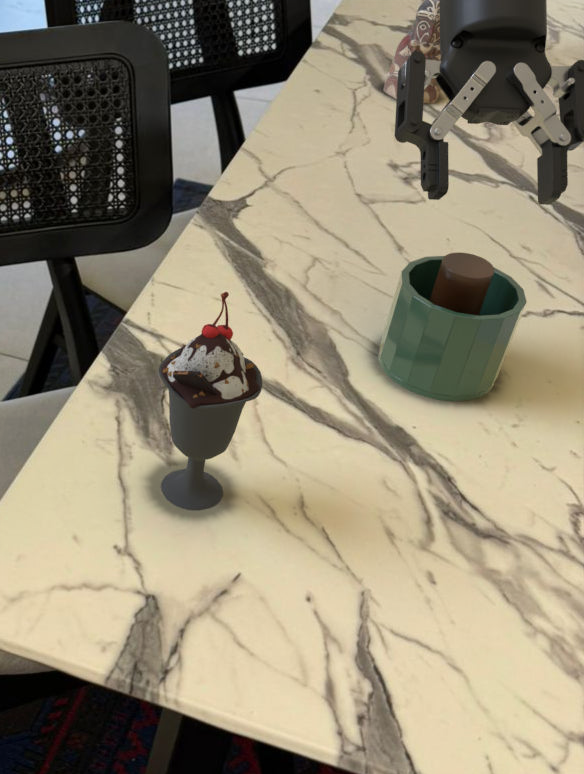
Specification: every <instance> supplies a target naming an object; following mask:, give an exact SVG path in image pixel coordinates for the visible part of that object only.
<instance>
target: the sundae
mask: <svg viewBox="0 0 584 774" xmlns="http://www.w3.org/2000/svg"><path fill="white" fill-rule="evenodd" d="M229 296H230V295H229V292H228V291H224V292H223V293H221V294H220V297H221V310H220V312H219V315H217V317H216V319H215V320H214V321H213V323H207V324H204V325H203V327H202V328H201V331H200V332H201V333H200V334H199V335H197V336H195V337H194V338H192V339H190V341H188V342H187V343H186V344H184V345H182V346H181V347H179V348H178V349H176V350H174V351H173V352H171V353H169V354H168V355H167V356H166V357H165V358H164V359H163V361H161V363H159V367H158V376H159V378H160V380H161V381H162V383H163V384H164V386H165V387H166V388H167V390H168V399H169V400H168V405H169V407H168V416H169V420H168V421H169V431H170V436H171V442H172V443H173V445H174V446H175V447H176V449H177V450H178V451H179V452H180V453H181V454H182V455H184V456H185V457H187V463H186V468H181V469H177V470H173V471H171V472H169V473H168V474H165V476H164V477H163V478H162V480H161V482H160V490H161V493H162V495H163V496H164V498H165V499H166V501H168V502H169V503H170V504H172V505H173V506H175V507H177V508H180V509H182V510H187V511H193V512H194V511H195V512H196V511H203V510H208V509H209V510H210V509H211V508H214V507H216V506H217V505H218V504H220V502H221V501H222V500H223V497H224V490H223V489H224V488H223V486H222V485H221V483H220V482H219V480H218V479H217V478H216V477H215V476H213V475H212V474H210V473H209V472H207V471H205V464H206V461H207V460H210V459H211V460H212V459H213V458H215V457H218V456H220V455H222V454H224V453H225V452H226V451H227V449H228V448H229V445H230V443H231V441H232V439H233V437H234V435H235V432H236V429H237V427H238V423H239V422H240V418H241V415H242V412H243V409H244V408H245V405H246V404H247V402H250V401H253V400H255V399H257V398H258V397H260V394H261V392H262V389H263V377H262V372H261V370H260V369H259V367H258V366H257V365H256V364H255V363H254V362H253V361H252V360H251V359H249V358H247V357H245V356H244V353H243V352H242V349H241V348H240V347H239V346H238V344H237V343H235V342H234V341H233V340H231V339H232V338H233V336H234V332H233V329H232V327H230V326H229V310H228V305H227V302H226V300H227V298H228V297H229ZM224 309H225V310H224ZM223 312H225V313H224V314H225V322H224V323H225V324H219V325H217V323H218V322H219V320H220V318H221V317H222V315H223ZM216 325H217V326H216Z"/></svg>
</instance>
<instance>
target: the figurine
mask: <svg viewBox="0 0 584 774" xmlns="http://www.w3.org/2000/svg"><path fill="white" fill-rule="evenodd" d="M415 51H420V52H422V53H423V54H424V55H425V58H426V59H428V60H437V61H440V59H441V52H440V0H424V1H423V2H422V3H421V4H420V5H419V7H418V9H417V11H416V15H415V21H414V26H413V30H412V31H410V32H408V33H407V34H406V35H405V36H403V38H402V39H401V40H400V41H399V43H398V45H397V47H396V50H395V52H394V56H393V59H392V62H391V65H390V67H389V70H388V72H387V75H386V77H385V81H384V85H383V92H384V93H385V94H387V95H388V96H390V97H392V98H394V99H396V100H397V84H398V71H399V69H400V68H401V67H402V65H403V64H404V63H405V62H406V60H407V59H408V58H409V56H410V55H411V54H412V53H413V52H415ZM441 91H442V90H441V88H440V87H439V86H438V84H437V82H436V80H435V78H432V80H431V83H430V84H429V85H428V86H427V87H426V88H425V89H424V101H423V104H433V103H435V102H437V101H438V99H439V96H440V93H441Z"/></svg>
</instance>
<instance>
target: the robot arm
mask: <svg viewBox="0 0 584 774" xmlns="http://www.w3.org/2000/svg"><path fill="white" fill-rule="evenodd" d="M547 7H548V6H547V0H440V52H441V59H440V61H437V60H428V59H426V58H425V55H424V54H423V53H422V52H420V51H415V52H413V53H412V54H411V55H410V56H409V58H408V59H407V60H406V62H405V63H404V64H403V65H402V67H401V68H400V69H399V71H398V84H397V99H396V102H395V103H396V105H395V122H394V138H395V140H396V141H397V142H398V143H401V144H404V143H410V144H412V145H414V146H415V147H417V148H418V150H419V152H420V187H421V189H422V191H423V192H425V193H426V192H427V198H428V200H432V201H439V200H441V199H442V198H443V197H444V196H446V195H447V194H448V191H449V188H450V187H449V186H450V185H449V184H450V183H449V178H450V177H449V176H450V175H449V174H450V173H449V141H444V139H445V138H446V136H447V135H448V134H449V132H450V131H451V130H452V128H453V127H454V126H455V124H456V123H457V122H458V120H459V119H460V118H462V119H464V120H465V121H467V124H469V125H470V124H473V125H474V124H475V125H478V124H483V123H491V124H493V125H497V126H508V125H510V124H511V123H512V124H513V126H514V127H515V129H516V130H517V131H518V132H519V134H520V135H521V136H523V137H526V138H528V139H529V141H530V142H531V143H532V144H533V146H534V147H535V148H536V150H537V151H538V153H539V154H540V156H538V157H537V158H536V164H537V165H536V166H537V167H536V171H537V202H538V205H543V206H544V205H545V206H550V205H551V204H553V203H554V202H556V201H557V200H559V199H560V197H561V196H562V194H563V193H564V192H566V190H567V187H568V185H569V179H568V175H569V174H568V173H569V172H568V151H570V152H571V151H574V150H576V149H577V148H579V146H580V145H581V144H583V143H584V59H579V60H576V61H575V62H574V63H573V64H572V65H558V66H557V65H554V66H552V65H551V63H550V61H549V60H548V57H547V55H546V54H547V53H546V46H547V45H546V44H547V39H548V38H547V37H548V16H547V15H548V13H547V12H548V11H547V10H548V9H547ZM432 78H435V80H436V82H437V84H438V86H439V87H440V88H441V90H440V91H442V93H443V94H444V96H445V97H446V98H447V100H448V102H447V103H446V104H445V105H444V107H442V109H441V110H440V112H439V113H438V114H437V115H436V117H435V118H434V120H433V121H432V122H431V123H429V122H427V121H425V120H424V119H423V117H424V103H423V101H424V89H425V88H426V87H427V86H428V85H429V84H430V83H431V80H432ZM547 85H549V87H551V89H552V96H553V97H554V98H556V99H557V98H558V110H559V116H558V115H557V113H558V112H557V111H558V110H557V107H556V104H554V102H553V101H552V100H551V98H550V97H549V96H548V94H547V93H546V91H545V90H544V89H545V88H546V86H547ZM530 108H531V109H532V110H533V113H534V114H533V116H532V114H530V113H529V110H530Z"/></svg>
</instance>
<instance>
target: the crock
mask: <svg viewBox="0 0 584 774" xmlns="http://www.w3.org/2000/svg"><path fill="white" fill-rule="evenodd" d="M444 256H445V255H433V256H424V257H421V258H418V259H415V260H412V261H409V262H408V264H407V265H406V266H405V267H404V268H403V269H402V270H401V271H400V275H399V279H398V281H397V285H396V289H395V291H394V295H393V299H392V302H391V305H390V306H391V307H390V309H389V313H388V316H387V319H386V323H385V327H384V330H383V333H382V337H381V341H380V344H379V350H378V351H379V352H378V356H377V357H378V363H379V366H380V368H381V370H382V371H383V372H384V373H385V375H386V376H387V377H388V378H389V379H390V380H392V381H393V382H394V383H396V384H397V385H399V386H400V387H401V388H403V389H406V390H407V391H409V392H412V393H413V394H417V395H419V396H421V397H425V398H429V399H432V400H437V401H438V400H439V401H443V402H444V401H445V402H466V401H467V402H468V401H472V400H476V399H479V398H481V397H483V396H485V395H486V394H488V393H489V392H490V391H491V390H492V389H493V387H494V385H495V382H496V381H497V379H498V377H499V374H500V371H501V369H502V367H503V364H504V361H505V359H506V357H507V354H508V351H509V349H510V346H511V344H512V341H513V339H514V336H515V334H516V331H517V328H518V326H519V323H520V320H521V319H522V316H523V313H524V311H525V308H526V306H527V303H528V301H527V297H526V293H525V290H524V288H523V287H522V286H521V285H520V284H519V283H518V282H517V281H516V280H515V279H514V278H513V277H512V276H511V275H509V274H507V273H505V272H504V271H501V270H500V269H498V268H497V267H495V266H493V267H494V270H495V271H494V275H493V277H492V280H491V283H490V286H489V289H488V291H487V294H486V297H485V300H484V303H483V305H482V308H481V311H480V314H479V316H477V315H471V314H464V313H458V312H454V311H451V310H449V309H446V308H443V307H440V306H437V305H435V304H433V303H432V302H430V301H429V300H430V297H431V294H432V291H433V288H434V284H435V281H436V278H437V275H438V272H439V269H440V266H441V262H442V259H443V257H444Z"/></svg>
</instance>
